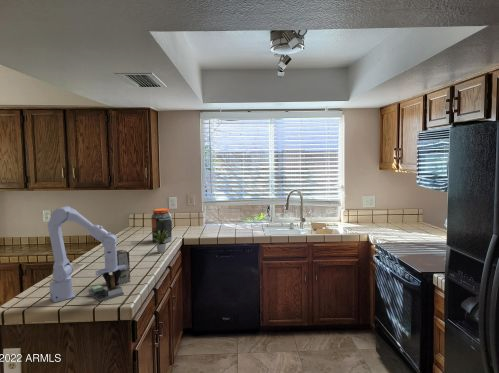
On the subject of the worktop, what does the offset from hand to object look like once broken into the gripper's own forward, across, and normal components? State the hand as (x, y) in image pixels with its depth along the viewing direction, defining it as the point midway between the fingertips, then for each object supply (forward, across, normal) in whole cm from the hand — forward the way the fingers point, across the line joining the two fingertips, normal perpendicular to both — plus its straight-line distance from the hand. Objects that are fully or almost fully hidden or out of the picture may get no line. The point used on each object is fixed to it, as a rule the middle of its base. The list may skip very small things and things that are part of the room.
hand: (112, 286), depth 179 cm
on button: (+2, -5, +6) cm, 8 cm away
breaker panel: (+4, -2, +2) cm, 5 cm away
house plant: (+4, +58, +54) cm, 80 cm away
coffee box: (+4, +12, +16) cm, 21 cm away
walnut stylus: (+2, 0, 0) cm, 2 cm away
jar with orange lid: (+4, +78, +85) cm, 115 cm away
